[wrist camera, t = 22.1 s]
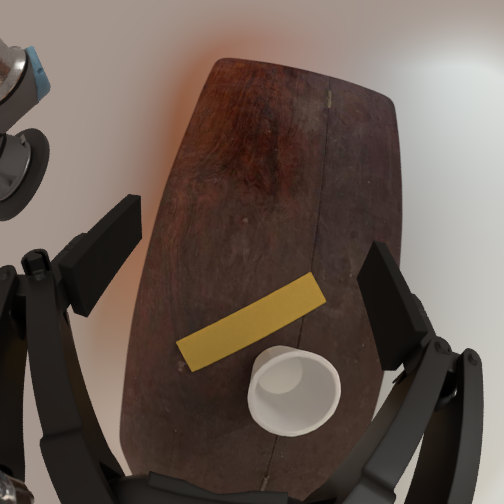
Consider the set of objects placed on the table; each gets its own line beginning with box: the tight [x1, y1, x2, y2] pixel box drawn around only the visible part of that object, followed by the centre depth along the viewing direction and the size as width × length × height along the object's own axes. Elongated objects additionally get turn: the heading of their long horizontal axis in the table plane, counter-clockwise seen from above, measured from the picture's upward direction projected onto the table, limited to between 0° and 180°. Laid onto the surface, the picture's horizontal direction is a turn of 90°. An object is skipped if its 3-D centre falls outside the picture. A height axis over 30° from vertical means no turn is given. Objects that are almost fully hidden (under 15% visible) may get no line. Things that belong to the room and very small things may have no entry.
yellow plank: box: [176, 272, 326, 372], centre depth 38 cm, size 22×5×1 cm, turn 118°
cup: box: [247, 345, 341, 436], centre depth 31 cm, size 10×10×13 cm
